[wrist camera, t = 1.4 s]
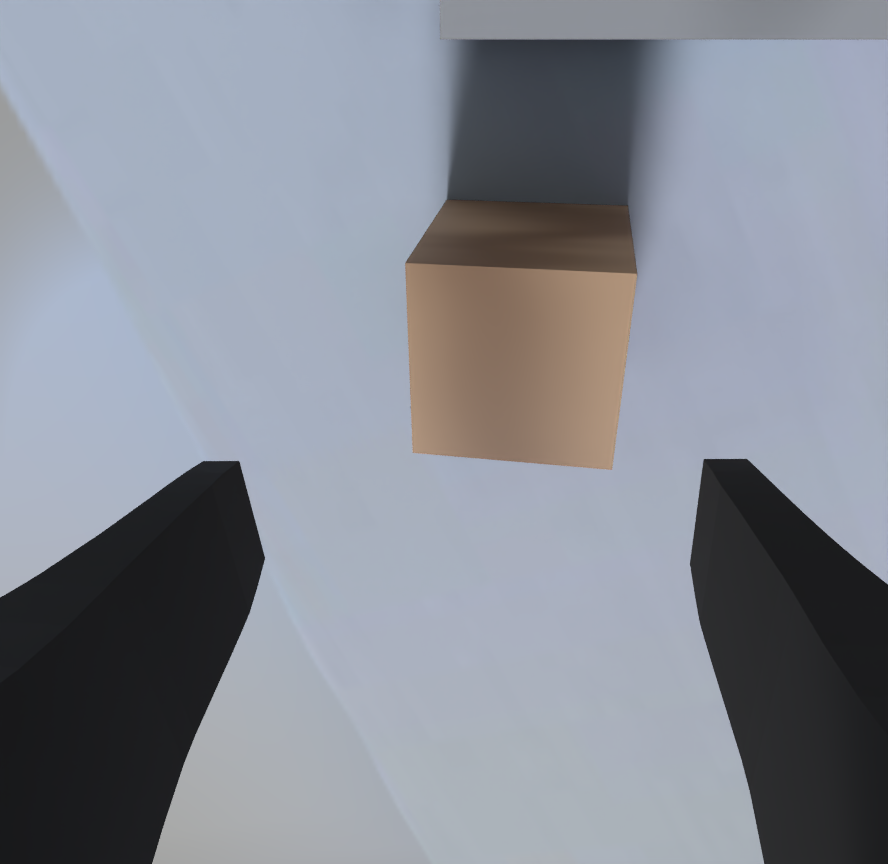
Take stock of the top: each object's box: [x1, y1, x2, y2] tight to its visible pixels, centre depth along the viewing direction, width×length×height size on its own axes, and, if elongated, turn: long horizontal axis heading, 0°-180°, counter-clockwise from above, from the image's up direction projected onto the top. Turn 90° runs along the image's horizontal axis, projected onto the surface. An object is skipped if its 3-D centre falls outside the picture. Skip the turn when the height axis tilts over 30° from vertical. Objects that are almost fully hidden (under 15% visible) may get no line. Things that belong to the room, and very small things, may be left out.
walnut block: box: [405, 200, 637, 470], centre depth 18 cm, size 4×4×5 cm
